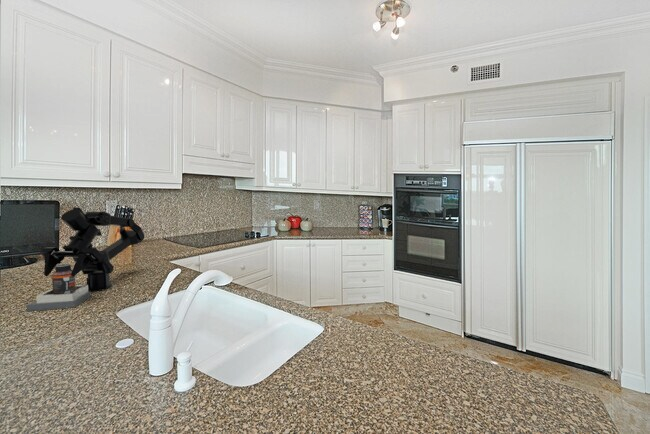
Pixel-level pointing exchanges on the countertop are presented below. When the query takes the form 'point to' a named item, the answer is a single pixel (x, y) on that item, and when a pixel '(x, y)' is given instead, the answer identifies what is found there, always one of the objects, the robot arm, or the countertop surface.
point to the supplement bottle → (63, 280)
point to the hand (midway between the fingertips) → (58, 275)
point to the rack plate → (59, 299)
